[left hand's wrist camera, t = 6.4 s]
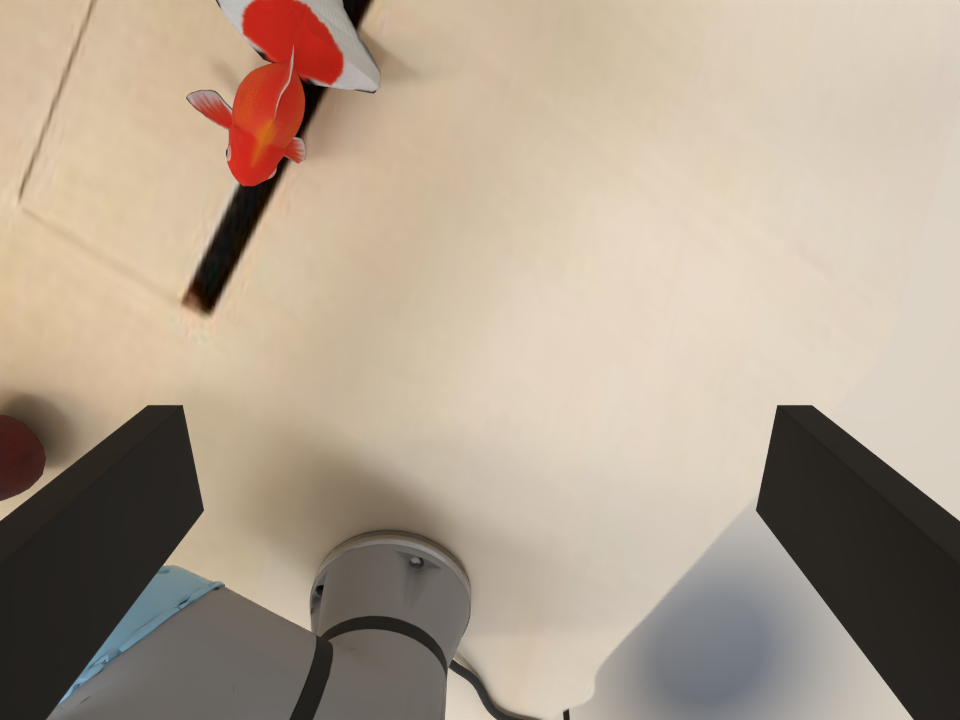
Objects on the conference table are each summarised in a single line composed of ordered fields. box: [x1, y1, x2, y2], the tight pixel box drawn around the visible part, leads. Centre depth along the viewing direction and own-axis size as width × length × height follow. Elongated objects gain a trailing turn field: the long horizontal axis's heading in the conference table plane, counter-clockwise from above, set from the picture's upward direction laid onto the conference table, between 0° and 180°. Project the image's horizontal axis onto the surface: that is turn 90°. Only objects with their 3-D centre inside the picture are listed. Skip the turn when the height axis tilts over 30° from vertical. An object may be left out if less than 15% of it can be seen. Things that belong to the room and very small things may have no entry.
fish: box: [186, 0, 380, 186], centre depth 36 cm, size 11×16×10 cm
